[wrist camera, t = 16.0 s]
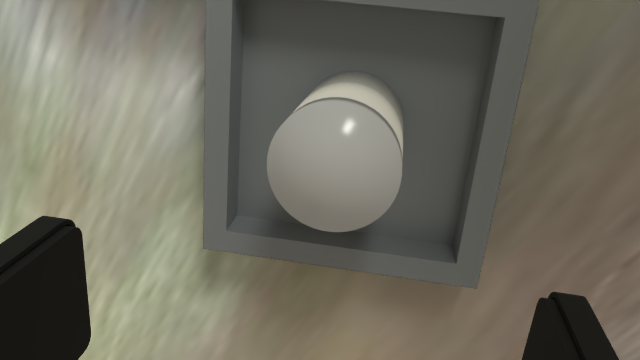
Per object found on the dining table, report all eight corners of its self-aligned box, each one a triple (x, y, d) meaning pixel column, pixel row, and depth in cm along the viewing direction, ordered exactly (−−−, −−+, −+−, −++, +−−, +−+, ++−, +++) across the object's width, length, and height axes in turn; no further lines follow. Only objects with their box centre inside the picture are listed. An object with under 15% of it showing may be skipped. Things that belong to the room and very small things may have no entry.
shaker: (408, 74, 26) (408, 107, 19) (399, 174, 28) (396, 238, 21) (304, 68, 27) (266, 97, 20) (301, 166, 28) (266, 225, 21)
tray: (526, -12, 25) (541, -11, 22) (469, 259, 30) (476, 288, 27) (227, -39, 26) (206, -41, 24) (220, 224, 31) (203, 248, 28)
